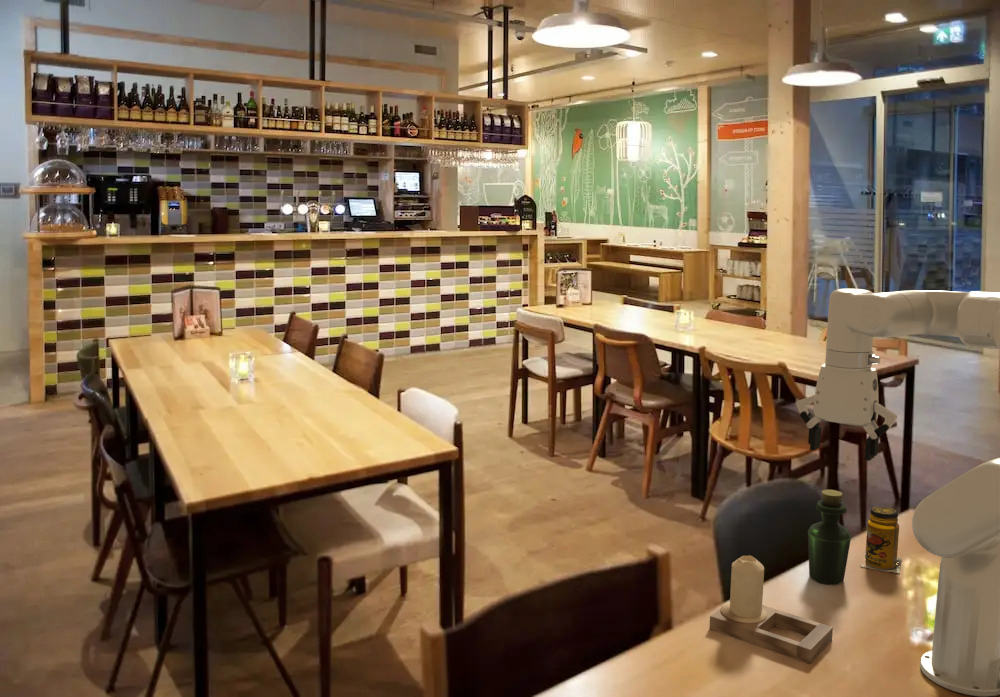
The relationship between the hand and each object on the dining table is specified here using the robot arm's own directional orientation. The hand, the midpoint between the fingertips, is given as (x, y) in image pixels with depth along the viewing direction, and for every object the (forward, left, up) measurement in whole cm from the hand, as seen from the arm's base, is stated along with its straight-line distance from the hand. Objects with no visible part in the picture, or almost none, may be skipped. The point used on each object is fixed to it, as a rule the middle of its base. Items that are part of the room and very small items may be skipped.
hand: (841, 453), depth 154 cm
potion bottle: (+6, -14, -31) cm, 34 cm away
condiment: (0, -29, -31) cm, 42 cm away
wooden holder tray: (+5, +16, -30) cm, 34 cm away
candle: (+10, +16, -28) cm, 33 cm away
